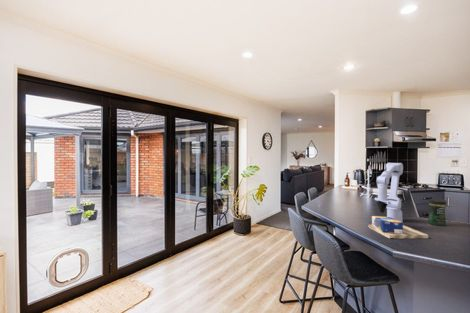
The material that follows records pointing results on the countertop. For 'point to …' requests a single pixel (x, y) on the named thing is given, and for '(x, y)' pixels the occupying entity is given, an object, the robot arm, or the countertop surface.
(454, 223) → the countertop surface
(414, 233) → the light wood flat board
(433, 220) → the coffee jar
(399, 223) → the beverage box
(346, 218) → the countertop surface
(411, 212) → the countertop surface
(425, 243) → the countertop surface
